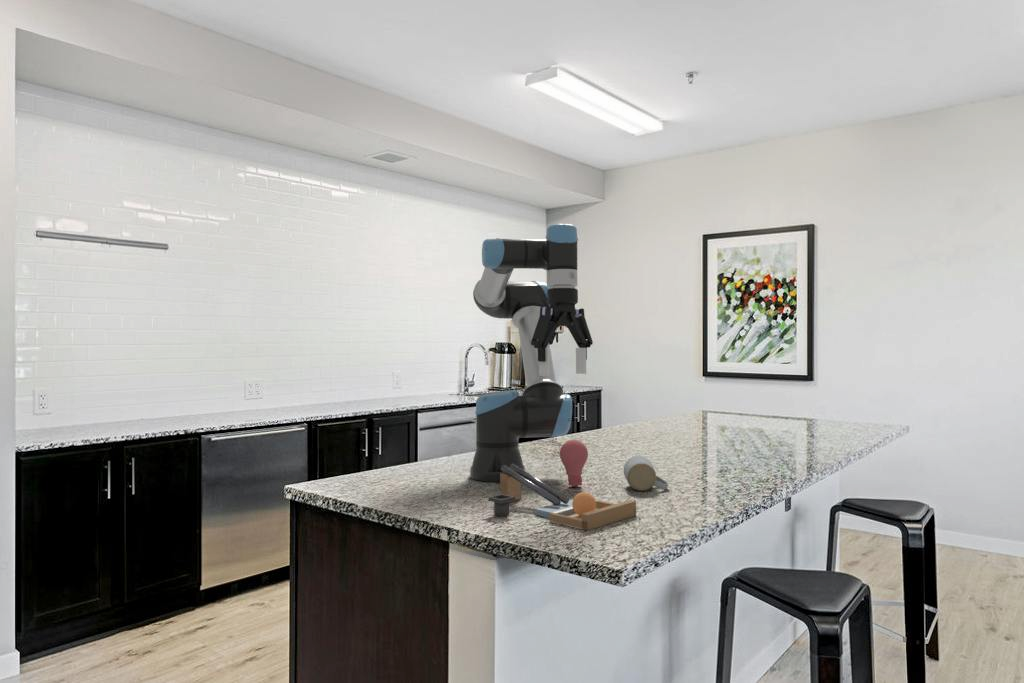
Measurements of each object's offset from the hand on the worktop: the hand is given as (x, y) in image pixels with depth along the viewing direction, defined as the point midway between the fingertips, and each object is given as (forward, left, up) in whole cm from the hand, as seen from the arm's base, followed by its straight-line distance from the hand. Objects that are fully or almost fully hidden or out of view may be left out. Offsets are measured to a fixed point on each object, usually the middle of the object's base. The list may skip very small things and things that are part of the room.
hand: (563, 374), depth 166 cm
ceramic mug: (+12, +17, -29) cm, 36 cm away
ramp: (+4, -15, -29) cm, 33 cm away
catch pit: (+21, -15, -29) cm, 39 cm away
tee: (+5, -26, -29) cm, 39 cm away
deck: (+13, -15, -29) cm, 35 cm away
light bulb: (-2, +6, -29) cm, 30 cm away
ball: (+19, -16, -26) cm, 36 cm away
